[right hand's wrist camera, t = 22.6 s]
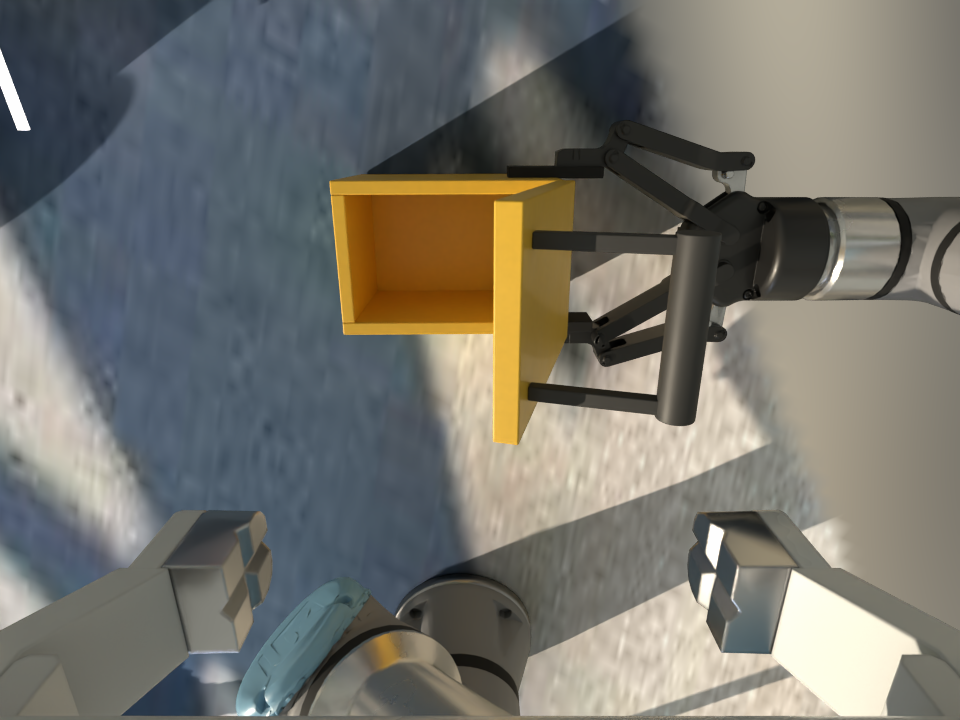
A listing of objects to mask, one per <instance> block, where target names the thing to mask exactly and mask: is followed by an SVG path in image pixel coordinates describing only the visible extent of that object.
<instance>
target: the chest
mask: <svg viewBox="0 0 960 720" xmlns="http://www.w3.org/2000/svg"><path fill="white" fill-rule="evenodd" d="M557 180H563V179H559V178H508V177H507V174H361V175H356V176H351V177H346V178H341V179H336V180H331V181H330V191H331V201H332V212H333V223H334V234H335V245H336V255H337V266H338V277H339V288H340V299H341V309H342V320H343V322H344V323H343V331H344V334H345V335H360V334H493V303H494V201H495V200H498V199H501V198H504V197H507V196H510V195H513V194H516V193H520V192H523V191H526V190H529V189H532V188H535V187H538V186H541V185H545V184H548V183H551V182H554V181H557Z"/></svg>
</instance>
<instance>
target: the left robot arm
mask: <svg viewBox="0 0 960 720" xmlns="http://www.w3.org/2000/svg"><path fill="white" fill-rule="evenodd" d="M627 144H629V145H632V146H635V147H638V148H641V149H644V150H646V151H649V152H652V153H655V154H658V155H661V156H664V157H667V158H670V159H672V160H675V161H678V162H681V163H684V164H687V165H690V166H693V167H696V168H699V169H704V170H713V171H712V177H713V179H714V180H715V181H717V182H720V183H722V184H723V185H724V186H725V192H723V193H722V194H720V195H719V196H717V197H716V198H714V199H713V200H712V201H710V202H709V203H707V204H706V205H704V206H702V205H701V204H699V203H698V202H696V201H694V200H692V199H690V198H689V197H687V196H686V195H684V194H683V193H682V192H680V191H679V190H677V189H676V188H674V187H673V186H671V185H670V184H668V183H667V182H665V181H664V180H662V179H661V178H659V177H658V176H657V175H655V174H654V173H652V172H651V171H649V170H648V169H646V168H645V167H643V166H642V165H640V164H639V163H637V162H636V161H634V160H633V159H631V158H630V157H629V156H627V155H626V154H624V151H625V149H626V146H627ZM754 163H755V157H754V155H753V154H752V153H751V152H718V151H715V150H712V149H710V148H707V147H704V146H701V145H698V144H695V143H693V142H690V141H687V140H684V139H681V138H678V137H675V136H673V135H670V134H667V133H664V132H661V131H658V130H655V129H653V128H650V127H647V126H644V125H641V124H638V123H635V122H633V121H630V120H623V121H619V122H615V123H613V124H612V125H611V127H610V130H609V135H608V137H607V140H606V142H605V143H604V145H603V146H601V147H600V148H596V149H560V150H558V151H556V152H555V165H554V166H507V177H508V178H603V173H604V167H605V168H607V169H608V170H610V171H611V172H613V173H614V174H615V175H617V176H618V177H620V178H621V179H623V180H624V181H626V182H627V183H629V184H630V185H632V186H633V187H635V188H636V189H638V190H639V191H641V192H642V193H644V194H645V195H647V196H648V197H650V198H651V199H653V200H654V201H656V202H657V203H659V204H660V205H662V206H663V207H665V208H666V209H668V210H669V211H670V212H671V213H673V214H674V215H676V216H677V217H679V218H680V219H682V220H683V223H682V225H681V227H678V230H677V231H681V230H706V231H715V232H719V233H721V234H722V239H721V246H720V253H719V260H718V267H717V274H716V281H715V287H714V294H713V301H712V308H711V315H710V322H709V329H708V336H707V342H721V341H723V340H724V339H725V338H726V336H727V331H726V329H724V328H723V327H722V325H723V320H724V315H725V310H726V307H727V306H729V305H731V304H733V303H735V302H738V301H744V300H749V301H763V300H764V301H765V300H799V299H802V298H803V299H805V300H913V301H921V302H926V303H929V304H932V305H935V306H938V307H941V308H944V309H947V310H949V311H951V312H954V313H956V314H959V315H960V197H924V198H878V197H820V198H816V199H811V198H807V197H752V196H750V195H749V194H747V193H746V192H744V191H745V182H746V173H747V170H749V169H750V168H752V166H753V165H754ZM670 277H671V275H669V276H668V277H666V278H664V279H663V280H662V281H661V283H660V284H658V285H656V286H654V287H653V288H651V289H649V290H647V291H645V292H644V293H642V294H640V295H638V296H637V297H635V298H633V299H631V300H629V301H628V302H626V303H624V304H622V305H621V306H619V307H617V308H615V309H613V310H612V311H610V312H608V313H606V314H605V315H603V316H601V317H599V318H597V319H596V320H594V321H592V320H591V318H590V317H589V315H588V314H587V312H568V328H567V338H566V340H565V342H564V343H588V344H591V345H592V347H593V352H594V354H595V356H596V357H597V359H598V361H599V362H600V364H601V365H602V366H604V367H609V366H612V365H615V364H619V363H622V362H626V361H629V360H633V359H636V358H640V357H643V356H647V355H650V354H654V353H657V352H660V351H662V346H663V337H664V328H665V323H664V324H661V325H657V326H654V327H650V328H647V329H644V330H640V331H637V332H633V333H630V334H627V335H623V336H620V337H618V336H619V335H621V334H623V333H625V332H627V331H628V330H630V329H632V328H634V327H636V326H637V325H639V324H641V323H643V322H645V321H647V320H648V319H650V318H652V317H654V316H656V315H657V314H659V313H661V312H663V311H665V310H666V309H667V303H668V294H669V286H670ZM530 644H531V629H530V621H529V616H528V613H527V611H526V608H525V607H524V605H523V603H522V602H521V600H520V599H519V598H518V597H517V596H516V595H515V594H514V593H513V592H512V591H511V590H509V589H508V588H507V587H505V586H503V585H502V584H500V583H498V582H496V581H494V580H491V579H488V578H485V577H481V576H476V575H469V574H453V575H445V576H441V577H437V578H434V579H431V580H428V581H426V582H424V583H422V584H420V585H419V586H417V587H416V588H414V589H413V590H412V591H410V592H409V593H408V594H407V595H406V596H405V597H404V599H403V600H402V601H401V603H400V604H399V606H398V608H397V610H396V613H395V616H394V615H392V614H391V613H390V612H389V611H388V610H386V609H385V608H384V607H383V606H382V605H381V604H380V603H379V602H378V601H377V600H376V599H375V598H374V597H373V596H371V591H370V589H365V588H364V587H363V586H361V585H360V584H359V583H358V582H356V581H355V580H353V579H351V578H348V577H340V578H336V579H333V580H331V581H329V582H327V583H326V584H324V585H322V586H321V587H319V588H318V589H317V590H315V591H314V592H313V593H312V594H311V595H309V596H308V597H307V598H306V599H305V600H304V601H302V602H301V603H300V604H299V605H298V606H297V607H296V608H295V609H294V610H293V611H292V612H291V613H290V614H289V616H288V617H287V618H286V619H285V620H284V621H283V622H282V623H281V624H280V626H279V627H278V628H277V629H276V630H275V632H274V633H273V634H272V635H271V637H270V638H269V639H268V641H267V642H266V643H265V645H264V646H263V647H262V649H261V650H260V652H259V653H258V655H257V656H256V658H255V659H254V661H253V662H252V664H251V666H250V668H249V669H248V671H247V673H246V675H245V676H244V679H243V681H242V683H241V685H240V688H239V691H238V694H237V699H236V711H237V714H238V716H520V708H519V695H518V691H519V687H520V684H521V680H522V677H523V673H524V670H525V666H526V663H527V659H528V656H529V652H530Z"/></svg>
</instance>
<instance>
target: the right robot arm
mask: <svg viewBox="0 0 960 720" xmlns="http://www.w3.org/2000/svg"><path fill="white" fill-rule="evenodd" d="M0 85H1V88H2V91H3V93H4V96H5V98H6V101H7V104H8V106H9V109H10V111H11V114H12V117H13V119H14V122H15V124H16V127H17V130H30V127H29V125H28V122H27V119H26V117H25V114H24V111H23V109H22V106H21V103H20V101H19V98H18V95H17V93H16V90H15V87H14V85H13V82H12V79H11V77H10V74H9V72H8V69H7V66H6V64H5V61H4V58H3V56H2V53H1V50H0ZM266 532H267V525H266V520H265V515H264V514H262V513H261V512H260V511H222V510H208V511H206V510H181V511H179V512H176V513H175V514H174V515H173V516H172V517H171V518H170V519H169V521H168V522H167V523H166V524H165V525H164V526H163V528H162V529H161V530H160V531H159V532H158V533H157V535H156V536H155V537H154V538H153V539H152V541H151V542H150V543H149V544H148V545H147V546H146V548H145V549H144V550H143V551H142V552H141V553H140V555H139V556H138V557H137V558H136V559H135V561H134V562H133V563H132V564H131V565H130V566H129V568H119V569H117V570H115V571H113V572H111V573H109V574H107V575H105V576H104V577H102V578H100V579H98V580H96V581H94V582H92V583H90V584H88V585H86V586H84V587H83V588H81V589H79V590H77V591H75V592H73V593H71V594H69V595H67V596H65V597H63V598H61V599H60V600H58V601H56V602H54V603H52V604H50V605H48V606H46V607H44V608H42V609H40V610H39V611H37V612H35V613H33V614H31V615H29V616H27V617H25V618H23V619H21V620H19V621H18V622H16V623H14V624H12V625H10V626H8V627H6V628H4V629H2V630H0V720H960V631H959V630H957V629H955V628H954V627H952V626H950V625H948V624H946V623H944V622H942V621H940V620H938V619H936V618H934V617H933V616H931V615H929V614H927V613H925V612H923V611H921V610H919V609H917V608H915V607H914V606H912V605H910V604H908V603H906V602H904V601H902V600H900V599H898V598H896V597H895V596H893V595H891V594H889V593H887V592H885V591H883V590H881V589H879V588H877V587H875V586H874V585H872V584H870V583H868V582H866V581H864V580H862V579H860V578H858V577H856V576H855V575H853V574H851V573H849V572H847V571H845V570H843V569H841V568H831V566H830V565H829V564H828V563H827V562H826V561H825V559H824V558H823V557H822V556H821V555H820V554H819V552H818V551H817V550H816V549H815V548H814V546H813V545H812V544H811V543H810V542H809V541H808V539H807V538H806V537H805V536H804V535H803V534H802V532H801V531H800V530H799V529H798V528H797V526H796V525H795V524H794V523H793V522H792V521H791V519H790V518H789V517H788V516H787V515H786V514H785V513H784V512H782V511H780V510H755V511H739V512H698V513H697V515H696V517H695V519H694V524H693V532H694V534H695V536H696V538H697V540H698V542H697V543H696V544H695V545H694V546H693V547H692V548H691V549H690V550H689V556H688V564H687V566H688V577H689V583H690V586H691V590H692V593H693V595H694V597H695V599H696V601H697V603H699V604H700V605H701V606H703V607H704V608H705V609H707V610H708V614H707V620H706V622H707V624H708V626H709V628H710V630H711V632H712V635H713V637H714V639H715V641H716V643H717V645H718V647H719V649H720V651H721V652H722V653H757V654H771V657H772V658H773V659H775V660H776V661H777V662H778V663H779V664H780V665H782V666H783V667H784V668H785V669H786V670H787V671H789V672H790V673H791V674H792V675H793V676H794V677H795V678H797V679H798V680H799V681H800V682H801V683H802V684H804V685H805V686H806V687H807V688H808V689H809V690H810V691H812V692H813V693H814V694H815V695H816V696H817V697H819V698H820V699H821V700H822V701H823V702H824V703H826V704H827V705H828V706H829V707H830V708H831V709H832V710H834V711H835V712H836V713H837V714H838V715H839V716H121V715H122V714H123V713H124V712H125V711H127V710H128V709H129V708H130V707H131V706H132V705H133V704H135V703H136V702H137V701H138V700H139V699H140V698H142V697H143V696H144V695H145V694H146V693H147V692H149V691H150V690H151V689H152V688H153V687H154V686H156V685H157V684H158V683H159V682H160V681H161V680H162V679H164V678H165V677H166V676H167V675H168V674H169V673H171V672H172V671H173V670H174V669H175V668H176V667H178V666H179V665H180V664H181V663H182V662H183V661H184V660H186V659H187V658H188V657H189V654H203V653H237V652H239V651H240V649H241V647H242V645H243V643H244V641H245V639H246V637H247V635H248V632H249V630H250V628H251V626H252V624H253V622H254V620H253V614H252V610H253V609H255V608H256V607H257V606H259V605H260V604H261V603H263V601H264V599H265V597H266V595H267V592H268V590H269V586H270V582H271V577H272V555H271V550H270V549H269V548H268V547H267V546H266V545H265V544H264V543H263V542H262V540H263V538H264V536H265V534H266Z"/></svg>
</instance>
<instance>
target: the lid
mask: <svg viewBox="0 0 960 720" xmlns="http://www.w3.org/2000/svg"><path fill="white" fill-rule="evenodd" d="M574 197H575V181H574V180H557V181H554V182H551V183H548V184H545V185H541V186H538V187H535V188H532V189H529V190H526V191H523V192H520V193H516V194H513V195H510V196H507V197H504V198H501V199H498V200H495V201H494V303H493V441H494V442H499V443H506V444H514V445H518V444H519V442H520V440H521V438H522V435H523V433H524V431H525V429H526V427H527V424H528V422H529V420H530V418H531V415H532V413H533V411H534V409H535V407H536V404H537V402H545V403H554V404H563V405H571V406H580V407H589V408H598V409H607V410H615V411H624V412H633V413H642V414H651V415H655V417H656V419H658V420H659V421H661V422H663V423H665V424H669V425H674V426H687V425H691V424H693V423H694V422H695V418H696V411H697V404H698V398H699V391H700V384H701V377H702V370H703V363H704V356H705V349H706V342H707V336H708V329H709V322H710V315H711V308H712V301H713V294H714V287H715V281H716V274H717V267H718V260H719V253H720V246H721V239H722V234H721V233H719V232H715V231H706V230H681V231H677V232H676V234H675V235H667V234H637V233H607V232H577V231H573V216H574ZM572 251H589V252H613V253H637V254H660V255H673V260H672V268H671V277H670V286H669V294H668V303H667V311H666V320H665V328H664V337H663V346H662V354H661V363H660V371H659V380H658V388H657V395H650V394H641V393H631V392H622V391H612V390H602V389H593V388H583V387H574V386H564V385H555V384H546V382H547V380H548V378H549V375H550V373H551V371H552V369H553V367H554V364H555V362H556V360H557V358H558V355H559V353H560V351H561V349H562V347H563V344H564V342H565V340H566V338H567V328H568V309H569V291H570V272H571V253H572Z"/></svg>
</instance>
